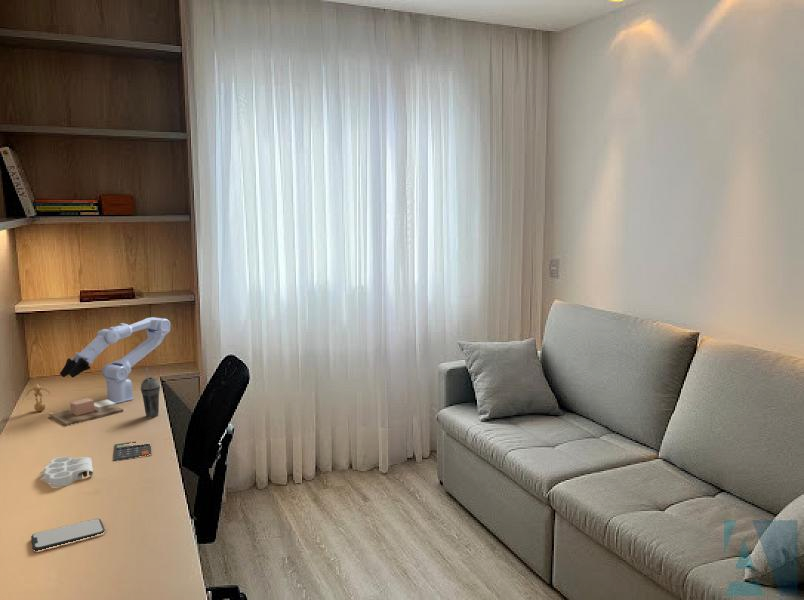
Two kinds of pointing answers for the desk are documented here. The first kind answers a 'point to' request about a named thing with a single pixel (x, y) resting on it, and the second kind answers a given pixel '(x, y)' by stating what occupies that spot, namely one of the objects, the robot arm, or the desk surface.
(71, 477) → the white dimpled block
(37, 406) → the figurine
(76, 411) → the tall pink cuboid
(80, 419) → the ticket board
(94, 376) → the desk surface
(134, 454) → the calculator
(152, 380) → the beverage cup
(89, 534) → the phone case
